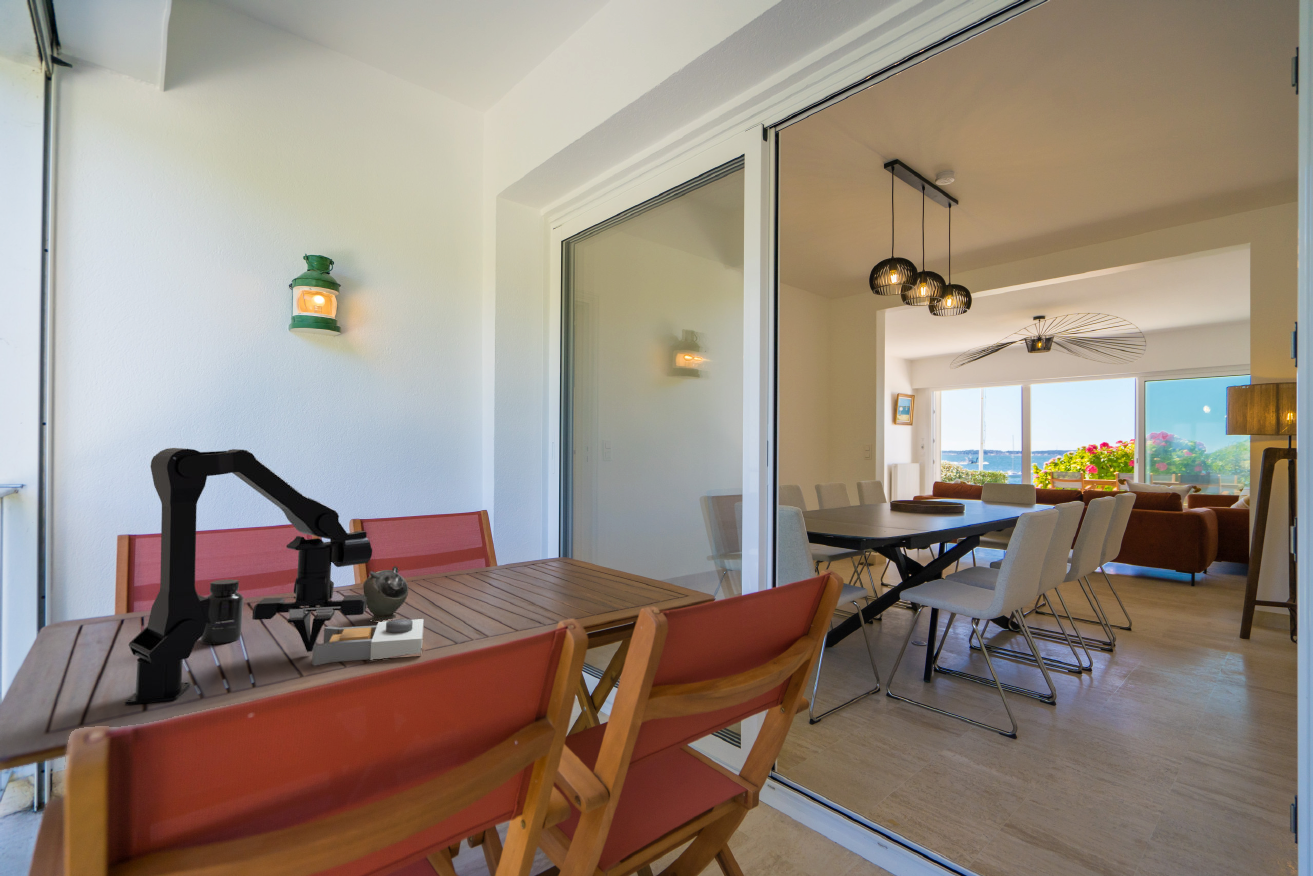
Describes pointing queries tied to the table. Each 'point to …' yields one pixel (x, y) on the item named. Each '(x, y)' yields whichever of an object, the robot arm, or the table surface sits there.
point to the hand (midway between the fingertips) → (309, 651)
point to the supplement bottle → (224, 613)
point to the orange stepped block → (352, 634)
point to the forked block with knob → (372, 642)
